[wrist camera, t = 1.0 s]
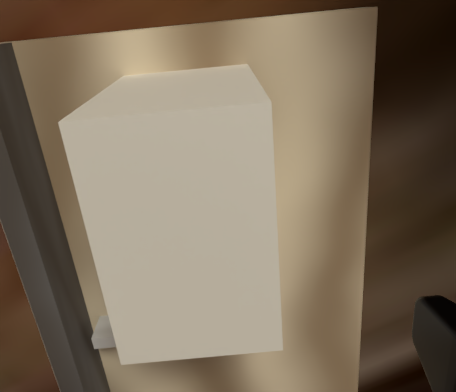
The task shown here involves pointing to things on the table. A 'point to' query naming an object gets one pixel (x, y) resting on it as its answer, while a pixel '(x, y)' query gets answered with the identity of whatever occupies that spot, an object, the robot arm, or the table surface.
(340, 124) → the flat beige panel
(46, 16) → the table surface
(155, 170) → the carton
